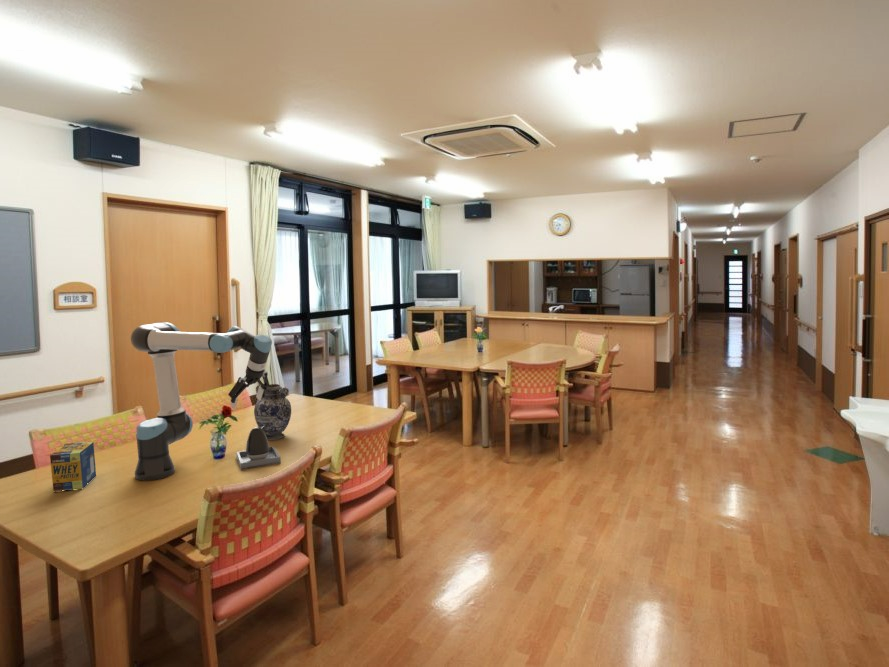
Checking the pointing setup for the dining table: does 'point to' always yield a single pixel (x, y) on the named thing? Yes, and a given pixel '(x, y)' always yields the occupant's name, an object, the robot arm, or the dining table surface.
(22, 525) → the dining table surface
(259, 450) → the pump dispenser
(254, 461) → the tray
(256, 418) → the decorative vase
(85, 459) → the protein box
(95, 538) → the dining table surface
